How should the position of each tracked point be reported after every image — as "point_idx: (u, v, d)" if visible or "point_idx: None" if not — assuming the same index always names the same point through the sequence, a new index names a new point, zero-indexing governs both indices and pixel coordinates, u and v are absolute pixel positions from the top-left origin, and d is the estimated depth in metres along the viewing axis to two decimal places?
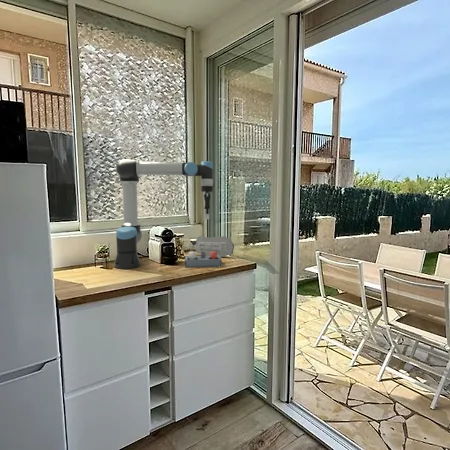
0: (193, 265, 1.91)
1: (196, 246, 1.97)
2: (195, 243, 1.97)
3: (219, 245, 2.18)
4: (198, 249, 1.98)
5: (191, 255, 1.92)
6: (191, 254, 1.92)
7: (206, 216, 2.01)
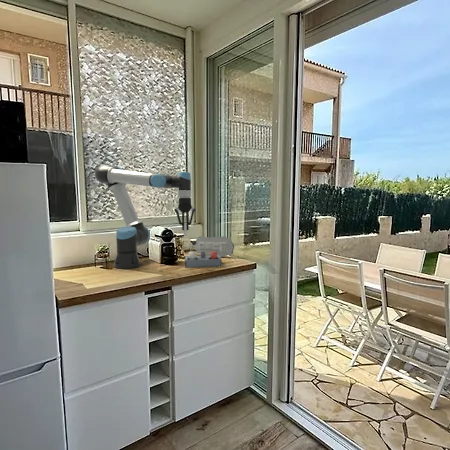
0: (193, 265, 1.91)
1: (196, 246, 1.97)
2: (195, 243, 1.97)
3: (219, 245, 2.18)
4: (198, 249, 1.98)
5: (191, 255, 1.92)
6: (191, 254, 1.92)
7: (184, 232, 1.97)
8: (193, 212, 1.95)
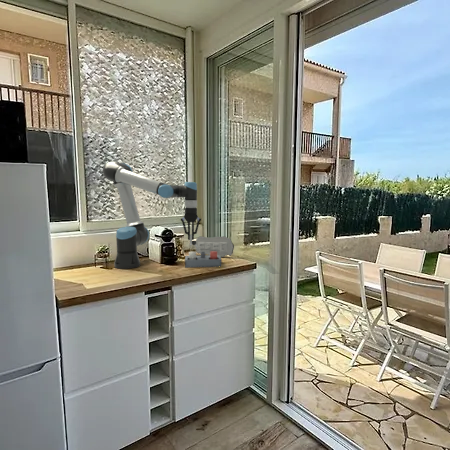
0: (193, 265, 1.91)
1: (196, 246, 1.97)
2: (195, 243, 1.97)
3: (219, 245, 2.18)
4: (198, 249, 1.98)
5: (191, 255, 1.92)
6: (191, 254, 1.92)
7: None
8: None
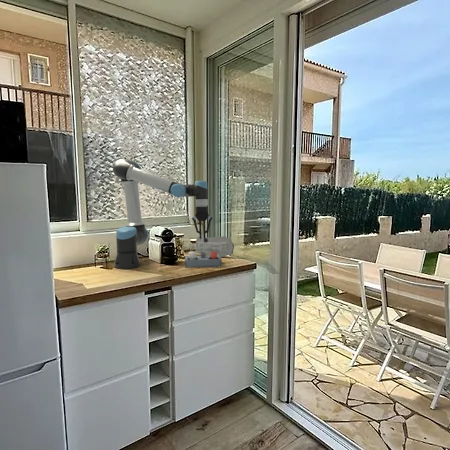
0: (193, 265, 1.91)
1: (205, 244, 1.98)
2: (206, 241, 1.97)
3: (219, 245, 2.18)
4: (204, 248, 1.98)
5: (191, 255, 1.92)
6: (191, 254, 1.92)
7: (201, 240, 1.99)
8: (210, 220, 1.96)
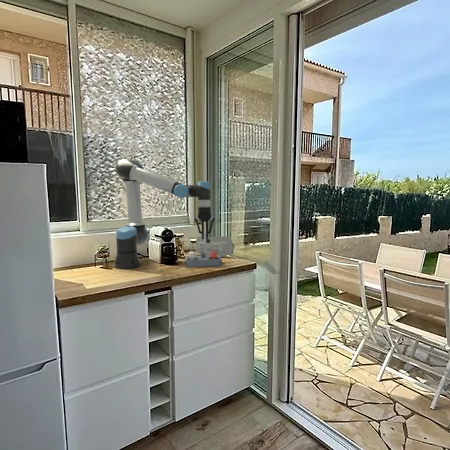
0: (193, 265, 1.91)
1: (207, 245, 1.98)
2: (209, 242, 1.98)
3: (219, 245, 2.18)
4: (205, 248, 1.98)
5: (191, 255, 1.92)
6: (191, 254, 1.92)
7: None
8: (212, 221, 1.96)
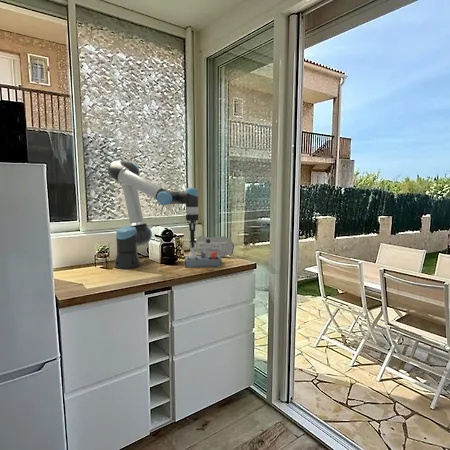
0: (193, 265, 1.91)
1: (207, 245, 1.98)
2: (209, 242, 1.98)
3: (219, 245, 2.18)
4: (205, 248, 1.98)
5: (191, 256, 1.92)
6: (191, 255, 1.92)
7: (191, 249, 1.93)
8: None
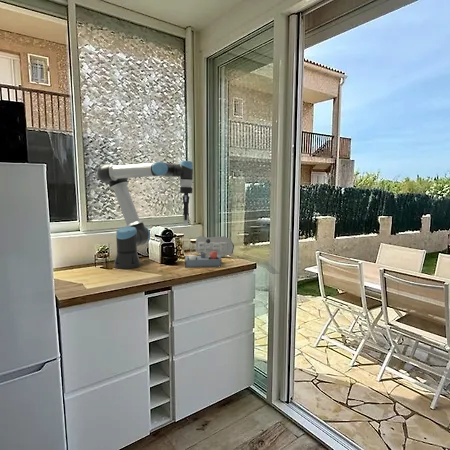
0: (193, 265, 1.91)
1: (207, 245, 1.98)
2: (209, 242, 1.98)
3: (219, 245, 2.18)
4: (205, 248, 1.98)
5: (191, 258, 1.92)
6: (191, 257, 1.92)
7: (184, 222, 1.95)
8: None
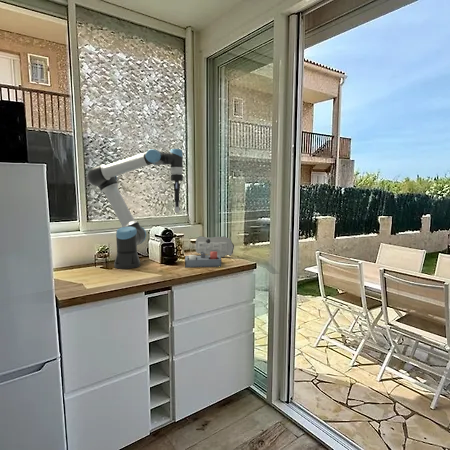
0: (193, 265, 1.91)
1: (207, 245, 1.98)
2: (209, 242, 1.98)
3: (219, 245, 2.18)
4: (205, 248, 1.98)
5: (191, 258, 1.92)
6: (191, 257, 1.92)
7: (175, 209, 2.00)
8: None
